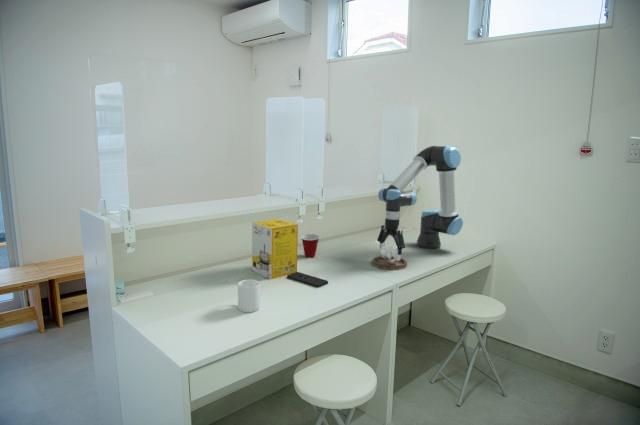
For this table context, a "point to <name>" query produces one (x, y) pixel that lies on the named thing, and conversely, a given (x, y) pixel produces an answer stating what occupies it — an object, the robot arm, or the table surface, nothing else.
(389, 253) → the white piece
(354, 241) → the table surface
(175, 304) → the table surface
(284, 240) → the packaging box
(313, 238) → the plastic cup
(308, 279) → the smart home device
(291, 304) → the table surface
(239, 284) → the mug
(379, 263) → the coaster
